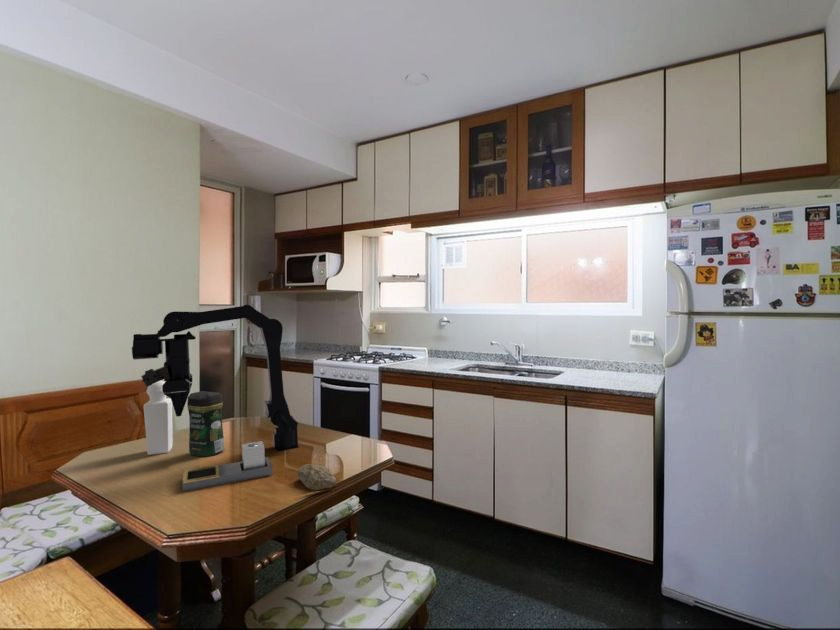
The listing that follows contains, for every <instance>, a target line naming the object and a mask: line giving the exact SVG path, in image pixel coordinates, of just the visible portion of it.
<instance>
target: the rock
mask: <svg viewBox="0 0 840 630" xmlns="http://www.w3.org/2000/svg"><path fill="white" fill-rule="evenodd" d="M296 475H297V477H298V479H299V480H300V482H302V484H303V485H304V486H305V487H306V488H307V489H310V490H311V491H319V490H325V489H329V490H330V489H331V490H332V489H333V488H334V487H335V484H336V480H337V478H336V477H335V476H334V474H332V470H330V468H329V467H327V466H325V465H322V464H316V463H315V464H314V463H313V464H312V463H306V464H303V465H302V466H301V467H299V468H298V470H297V473H296Z"/></svg>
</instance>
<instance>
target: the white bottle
mask: <svg viewBox="0 0 840 630" xmlns="http://www.w3.org/2000/svg"><path fill="white" fill-rule="evenodd" d="M165 382H166V381H164V380H161V381H158V382H156V383H153V384H152V385H150V386H148V387H147V388H146V391H145V393H146V394H147V395H148V397H149V400H148V401H147V402H146V403H144V404H143V414H144V415H143V416H144V427H145V440H146V450H147V455H148V456H150V455H151V456H153V455H159V454H161V455H162V454H167V453H169V452H170V451H171V450H172V448H173V404H172V401H171V398H169V397H168V398H167V396H166V395H164V393H163V390H162V385H163V384H164V383H165Z"/></svg>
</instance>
